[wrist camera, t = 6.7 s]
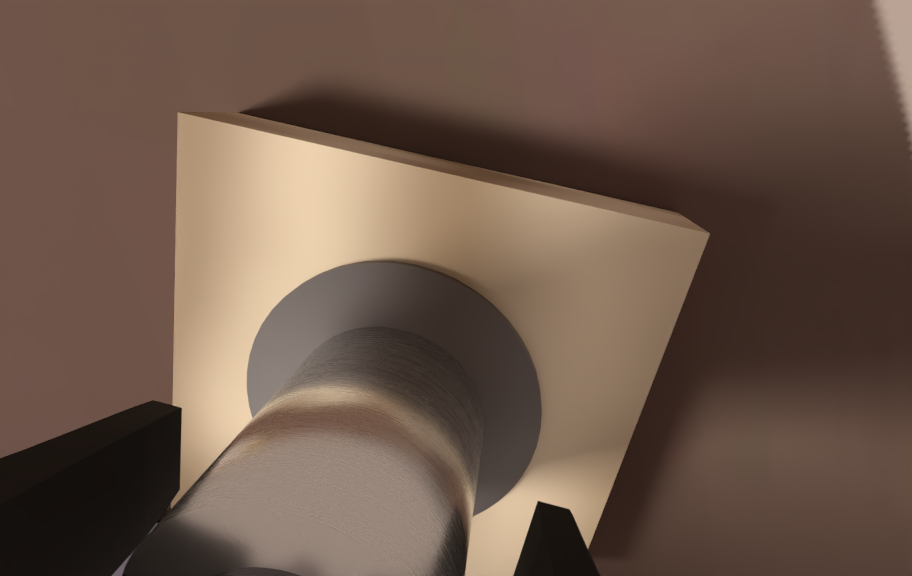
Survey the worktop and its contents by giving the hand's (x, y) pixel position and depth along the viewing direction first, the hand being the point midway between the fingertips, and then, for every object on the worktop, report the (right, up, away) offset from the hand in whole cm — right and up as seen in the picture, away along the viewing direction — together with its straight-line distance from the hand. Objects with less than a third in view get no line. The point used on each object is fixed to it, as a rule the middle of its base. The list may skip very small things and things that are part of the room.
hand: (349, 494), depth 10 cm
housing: (0, +1, +3) cm, 3 cm away
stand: (+1, +2, +5) cm, 6 cm away
